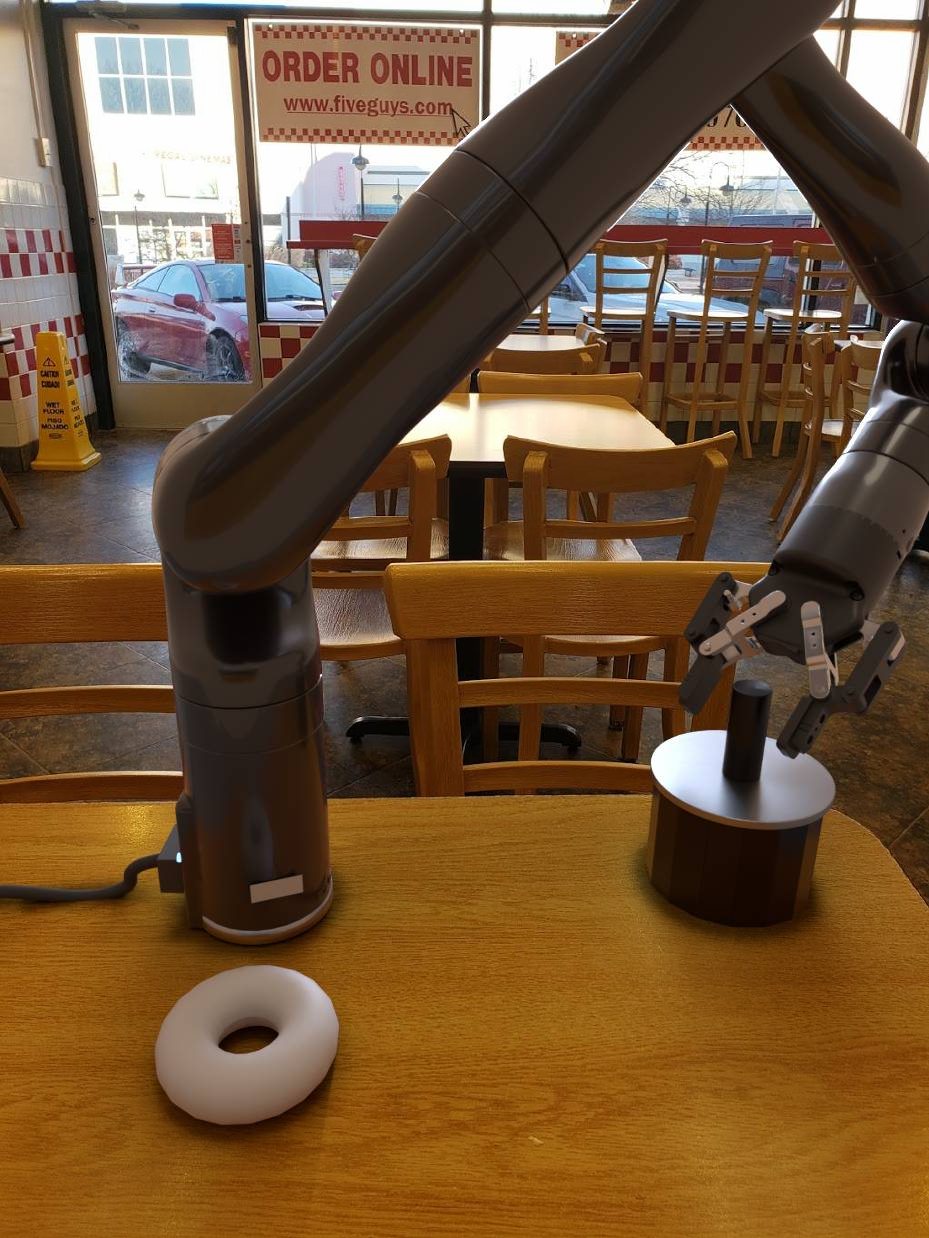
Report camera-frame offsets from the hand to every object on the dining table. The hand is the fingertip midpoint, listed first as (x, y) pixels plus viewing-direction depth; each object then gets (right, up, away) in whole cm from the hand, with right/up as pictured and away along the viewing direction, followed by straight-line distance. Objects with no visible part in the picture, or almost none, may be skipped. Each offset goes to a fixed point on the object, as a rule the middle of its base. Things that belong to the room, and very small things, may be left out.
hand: (733, 729), depth 63 cm
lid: (+1, -4, +3) cm, 5 cm away
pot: (+1, -12, +6) cm, 13 cm away
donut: (-30, -18, -10) cm, 36 cm away
